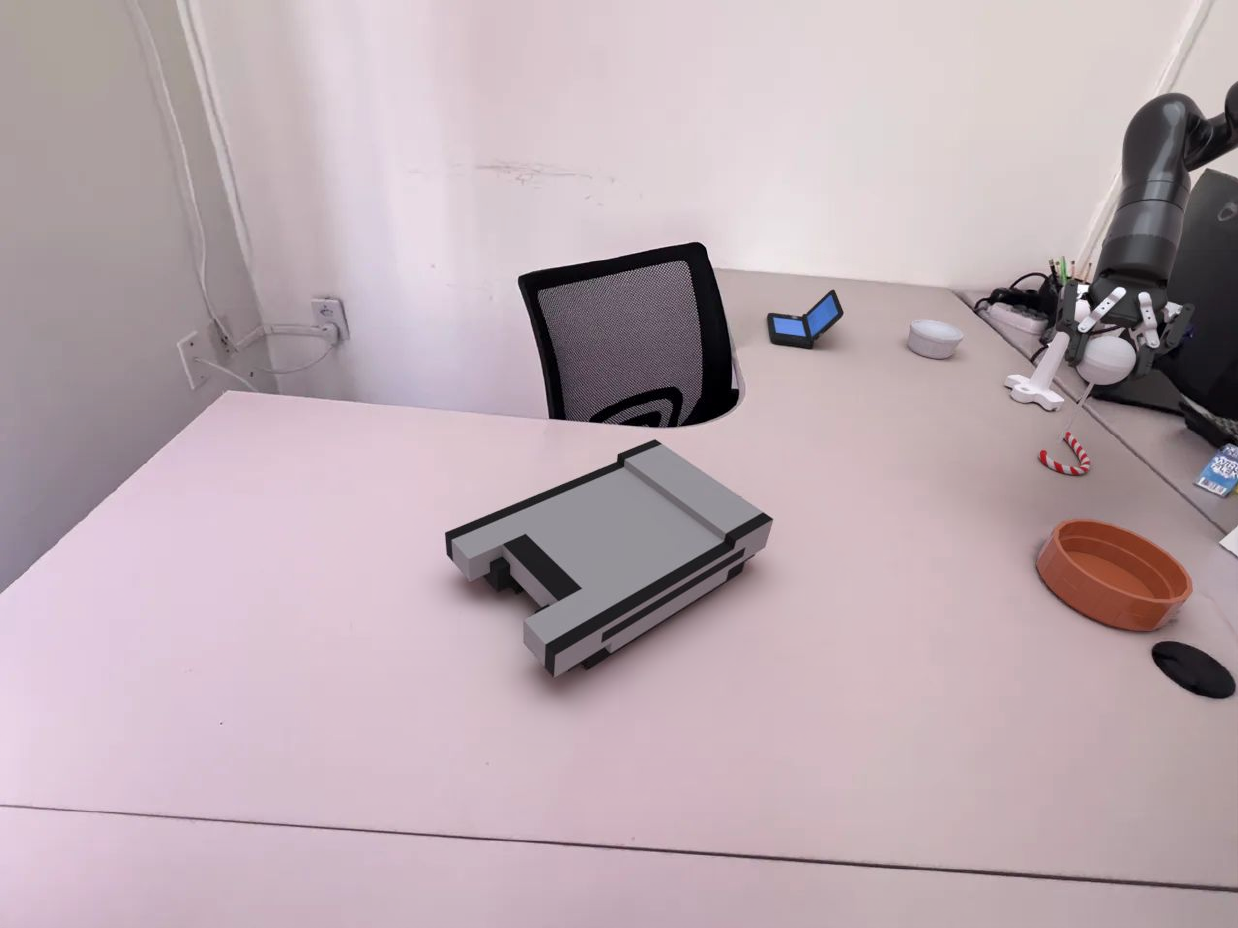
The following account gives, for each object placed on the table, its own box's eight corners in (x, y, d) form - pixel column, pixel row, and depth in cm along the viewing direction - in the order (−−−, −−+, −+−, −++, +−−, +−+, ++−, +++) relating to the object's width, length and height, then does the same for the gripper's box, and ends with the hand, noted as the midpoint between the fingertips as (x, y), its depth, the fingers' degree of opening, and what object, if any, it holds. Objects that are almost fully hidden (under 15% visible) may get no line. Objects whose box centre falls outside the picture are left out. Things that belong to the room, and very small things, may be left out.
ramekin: (910, 335, 152) (918, 314, 149) (960, 351, 147) (969, 329, 144) (896, 350, 145) (904, 327, 142) (948, 366, 140) (958, 344, 137)
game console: (765, 317, 154) (774, 280, 149) (824, 325, 153) (834, 288, 148) (769, 344, 141) (779, 304, 136) (833, 353, 140) (845, 313, 135)
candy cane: (1087, 435, 117) (1093, 476, 106) (1084, 441, 117) (1089, 482, 106) (1040, 422, 119) (1040, 460, 108) (1036, 428, 120) (1037, 466, 109)
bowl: (1140, 564, 90) (1162, 534, 87) (1188, 648, 78) (1216, 616, 75) (1022, 538, 92) (1040, 507, 89) (1051, 614, 80) (1073, 583, 77)
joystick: (1063, 410, 127) (1117, 313, 116) (1036, 414, 125) (1088, 315, 113) (1017, 383, 136) (1063, 290, 124) (991, 386, 133) (1035, 292, 122)
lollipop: (1042, 425, 90) (1097, 324, 81) (1088, 444, 87) (1151, 340, 78) (1027, 440, 86) (1083, 335, 78) (1075, 461, 83) (1140, 353, 74)
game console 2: (448, 577, 76) (444, 524, 72) (648, 486, 95) (655, 439, 90) (552, 701, 64) (555, 646, 59) (758, 568, 82) (773, 519, 78)
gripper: (1087, 220, 79) (1051, 345, 77) (1226, 245, 75) (1192, 377, 73) (1061, 253, 86) (1027, 368, 84) (1187, 277, 82) (1155, 398, 80)
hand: (1104, 371), depth 79 cm, fingers closed on lollipop, 6 cm apart
